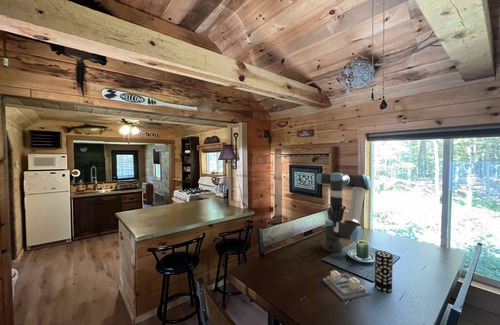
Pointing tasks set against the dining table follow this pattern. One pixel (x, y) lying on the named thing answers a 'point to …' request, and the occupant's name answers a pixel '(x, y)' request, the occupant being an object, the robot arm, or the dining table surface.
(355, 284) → the tab
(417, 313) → the dining table surface
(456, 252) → the dining table surface
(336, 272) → the tab
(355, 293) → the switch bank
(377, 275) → the spotted tube
